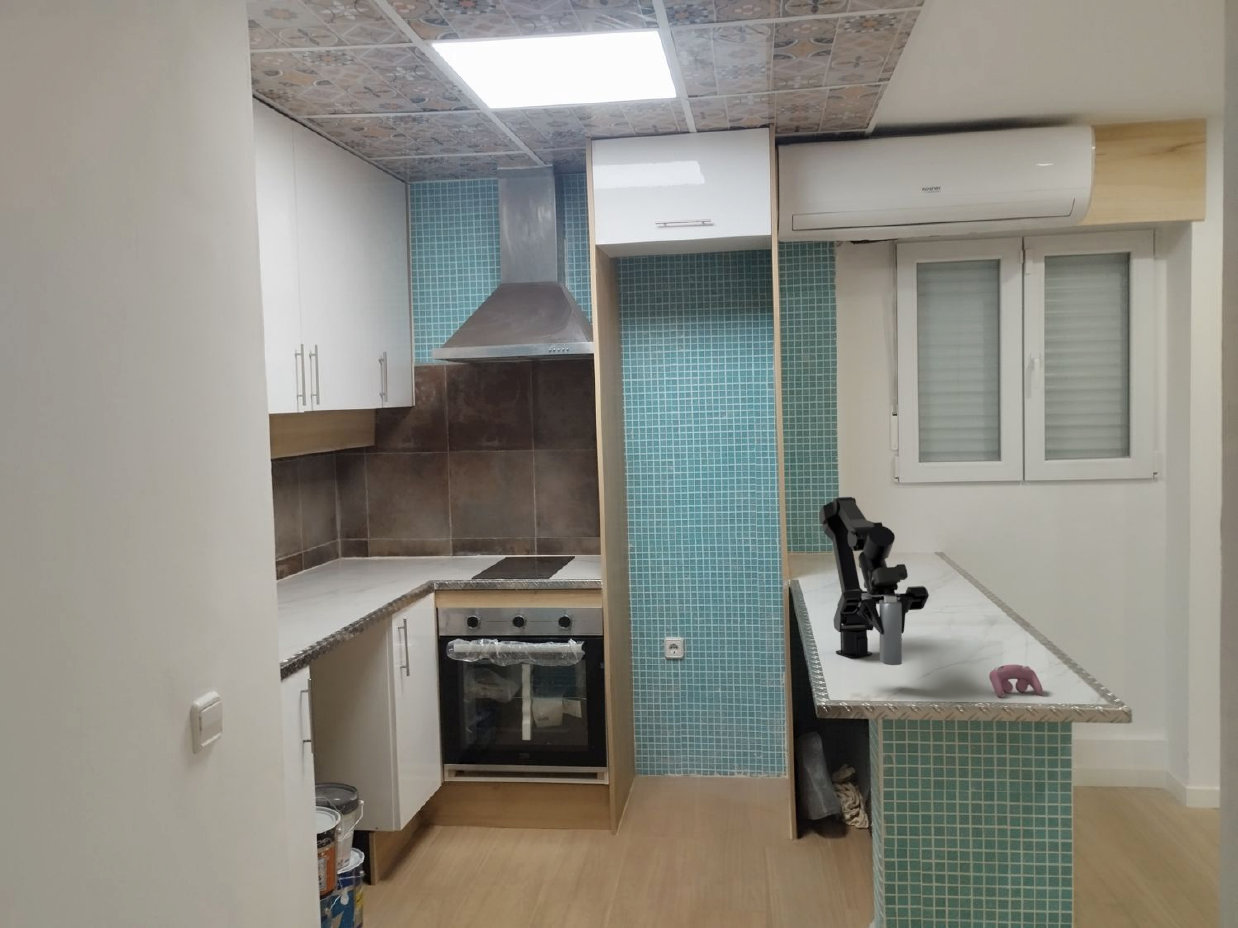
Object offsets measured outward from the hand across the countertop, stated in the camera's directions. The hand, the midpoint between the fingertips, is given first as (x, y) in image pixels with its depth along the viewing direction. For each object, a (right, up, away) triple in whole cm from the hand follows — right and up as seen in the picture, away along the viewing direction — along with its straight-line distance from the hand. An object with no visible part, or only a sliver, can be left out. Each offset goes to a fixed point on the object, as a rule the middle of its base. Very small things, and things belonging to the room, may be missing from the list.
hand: (892, 632), depth 217 cm
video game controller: (+25, -12, -4) cm, 28 cm away
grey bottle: (0, -6, +2) cm, 7 cm away
